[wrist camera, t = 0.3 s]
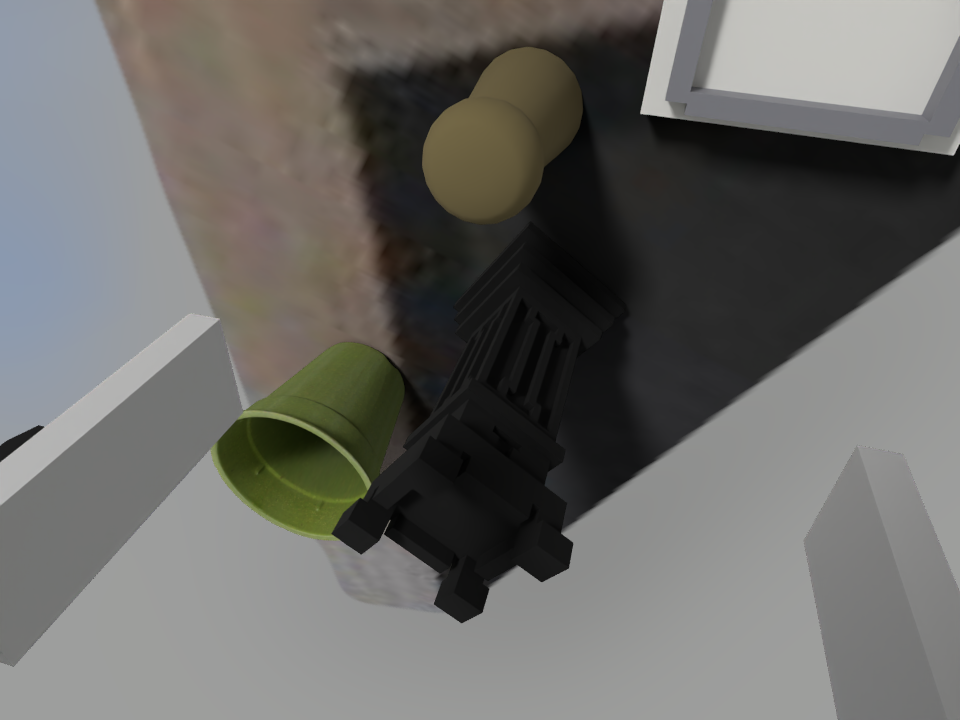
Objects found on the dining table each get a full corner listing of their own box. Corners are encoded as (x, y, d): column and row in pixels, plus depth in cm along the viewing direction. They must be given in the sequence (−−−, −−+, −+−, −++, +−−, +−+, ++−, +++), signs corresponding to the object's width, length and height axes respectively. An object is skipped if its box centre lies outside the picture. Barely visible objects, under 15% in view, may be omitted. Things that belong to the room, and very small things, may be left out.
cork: (579, 166, 34) (543, 251, 26) (476, 161, 36) (409, 239, 27) (587, 47, 31) (548, 99, 22) (471, 46, 32) (393, 94, 24)
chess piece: (626, 304, 39) (583, 570, 23) (544, 372, 43) (463, 630, 28) (530, 221, 37) (415, 445, 21) (456, 301, 42) (319, 532, 26)
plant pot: (269, 326, 48) (175, 419, 39) (398, 303, 43) (325, 403, 35) (333, 439, 54) (264, 542, 45) (454, 430, 49) (403, 543, 40)
